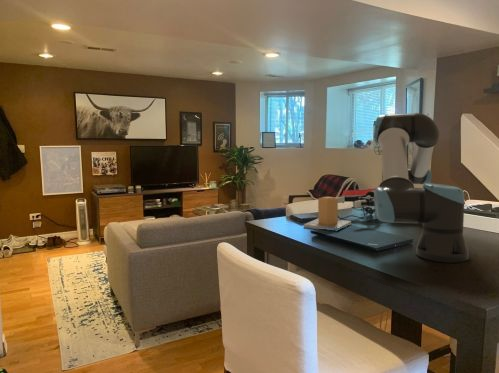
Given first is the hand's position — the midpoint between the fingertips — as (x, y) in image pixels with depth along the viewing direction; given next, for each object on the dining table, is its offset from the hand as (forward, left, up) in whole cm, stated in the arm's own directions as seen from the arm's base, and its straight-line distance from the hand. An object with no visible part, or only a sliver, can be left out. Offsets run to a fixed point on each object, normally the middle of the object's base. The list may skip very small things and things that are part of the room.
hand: (344, 202), depth 169 cm
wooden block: (-9, +4, -8) cm, 13 cm away
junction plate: (-9, +4, -10) cm, 14 cm away
